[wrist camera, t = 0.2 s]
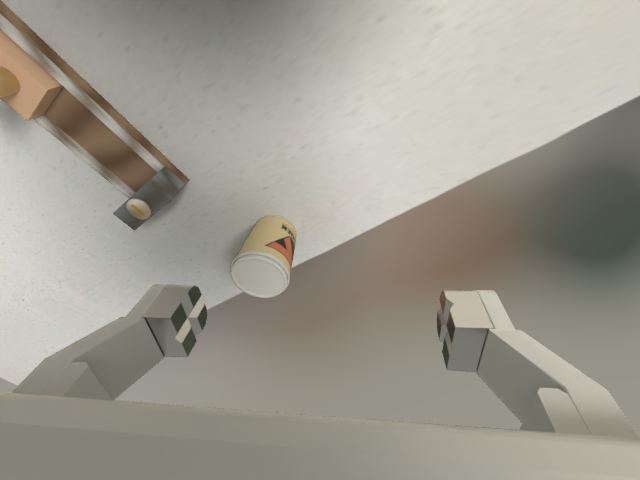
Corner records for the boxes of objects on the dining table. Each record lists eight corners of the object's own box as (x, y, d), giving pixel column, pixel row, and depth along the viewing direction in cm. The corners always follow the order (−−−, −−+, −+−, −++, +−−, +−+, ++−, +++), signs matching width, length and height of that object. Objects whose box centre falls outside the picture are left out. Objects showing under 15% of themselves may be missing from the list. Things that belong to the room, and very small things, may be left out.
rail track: (-51, 30, 44) (-118, 38, 38) (-29, -28, 40) (-101, -29, 34) (156, 207, 59) (131, 233, 53) (189, 179, 55) (166, 204, 49)
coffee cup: (308, 247, 61) (297, 295, 51) (263, 255, 63) (245, 302, 54) (290, 205, 55) (273, 251, 46) (242, 216, 58) (217, 261, 49)
